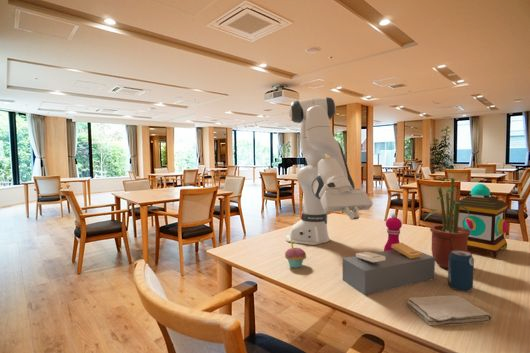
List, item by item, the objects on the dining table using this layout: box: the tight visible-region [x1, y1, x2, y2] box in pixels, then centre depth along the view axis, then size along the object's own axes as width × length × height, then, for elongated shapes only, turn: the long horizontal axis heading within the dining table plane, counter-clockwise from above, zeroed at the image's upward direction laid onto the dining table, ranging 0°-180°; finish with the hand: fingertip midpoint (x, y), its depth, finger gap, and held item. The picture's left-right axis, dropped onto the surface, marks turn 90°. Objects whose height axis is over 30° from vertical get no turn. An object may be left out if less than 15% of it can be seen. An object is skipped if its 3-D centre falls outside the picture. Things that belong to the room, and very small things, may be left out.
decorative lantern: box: [452, 183, 509, 259], centre depth 131 cm, size 20×20×30 cm
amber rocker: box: [391, 242, 423, 259], centre depth 106 cm, size 9×5×1 cm, turn 20°
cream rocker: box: [355, 251, 385, 262], centre depth 100 cm, size 9×5×1 cm, turn 20°
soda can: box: [447, 250, 475, 292], centre depth 97 cm, size 7×7×12 cm
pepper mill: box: [383, 213, 403, 251], centre depth 119 cm, size 7×7×20 cm
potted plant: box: [423, 177, 470, 270], centre depth 115 cm, size 17×16×35 cm
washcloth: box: [406, 294, 493, 327], centre depth 83 cm, size 12×18×3 cm, turn 97°
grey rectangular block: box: [342, 249, 436, 296], centre depth 104 cm, size 12×30×9 cm, turn 110°
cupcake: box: [284, 239, 307, 269], centre depth 118 cm, size 9×8×12 cm
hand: (355, 218), depth 106 cm, fingers closed
